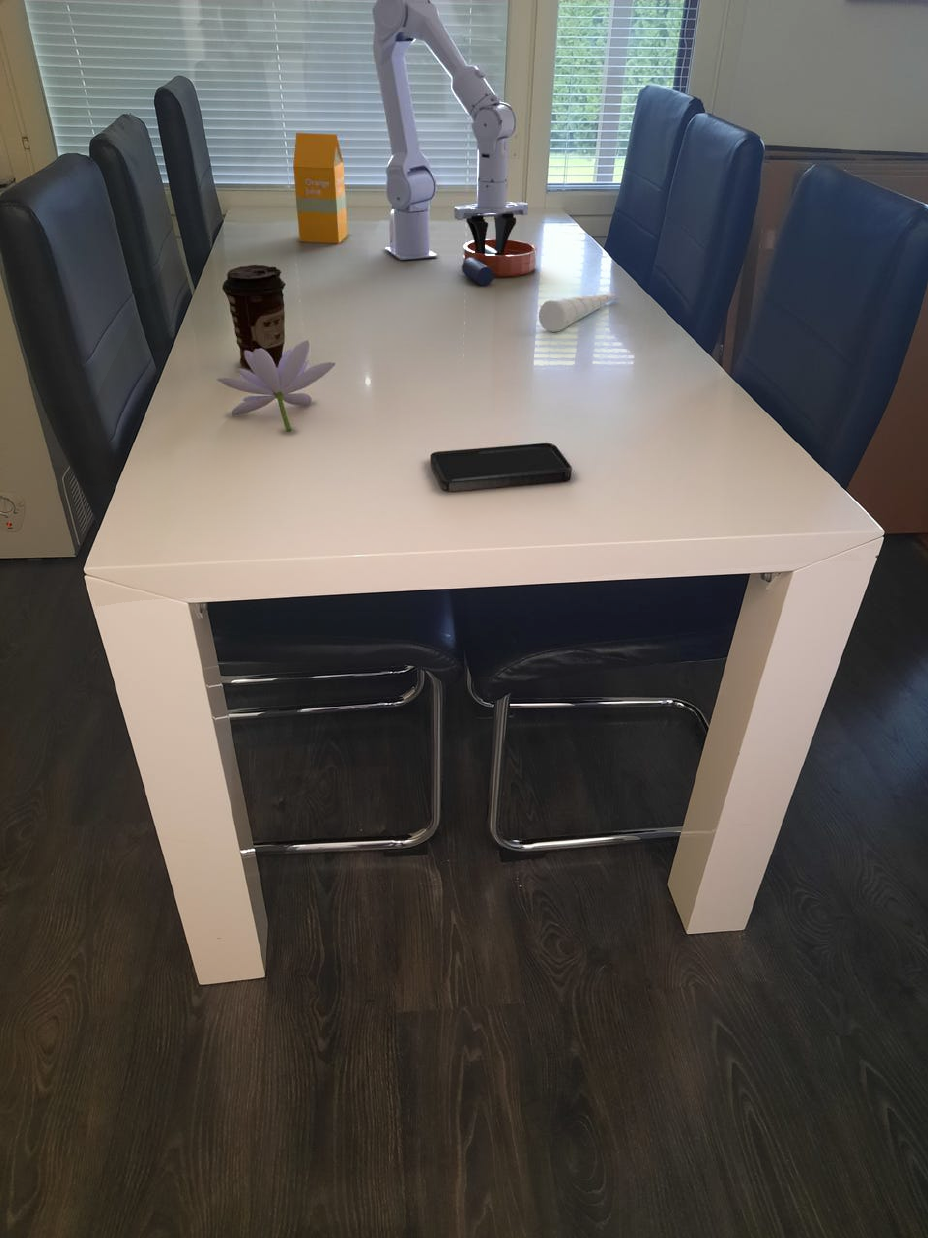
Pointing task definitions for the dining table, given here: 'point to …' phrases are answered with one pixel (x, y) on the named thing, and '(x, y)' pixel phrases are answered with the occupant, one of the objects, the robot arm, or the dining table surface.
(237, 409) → the water lily
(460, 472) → the phone
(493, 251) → the black cylinder
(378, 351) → the dining table surface
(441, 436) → the dining table surface
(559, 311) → the unicorn horn
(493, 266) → the bowl
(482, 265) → the navy tube
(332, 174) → the orange juice
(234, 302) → the coffee cup
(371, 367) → the dining table surface
